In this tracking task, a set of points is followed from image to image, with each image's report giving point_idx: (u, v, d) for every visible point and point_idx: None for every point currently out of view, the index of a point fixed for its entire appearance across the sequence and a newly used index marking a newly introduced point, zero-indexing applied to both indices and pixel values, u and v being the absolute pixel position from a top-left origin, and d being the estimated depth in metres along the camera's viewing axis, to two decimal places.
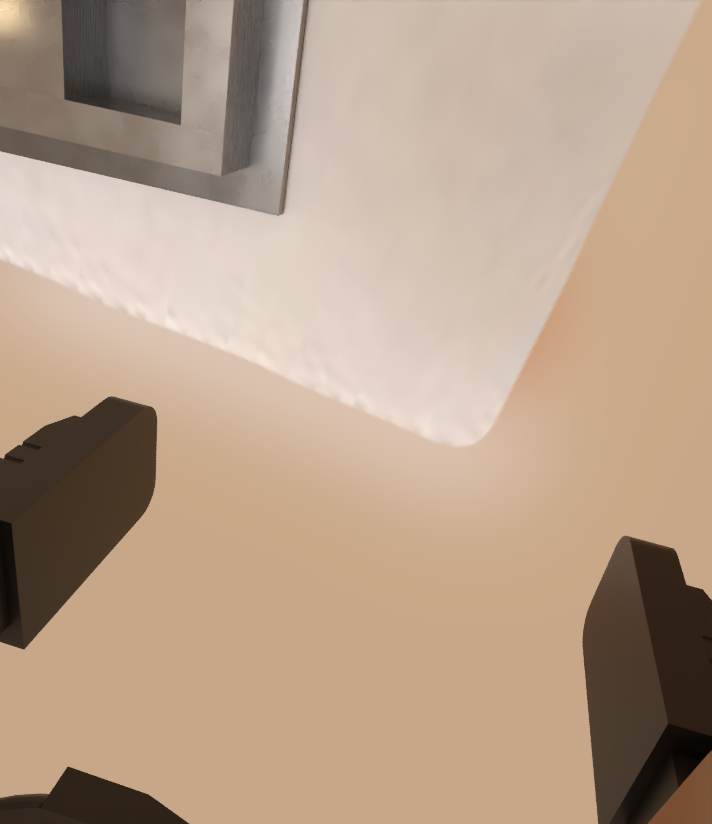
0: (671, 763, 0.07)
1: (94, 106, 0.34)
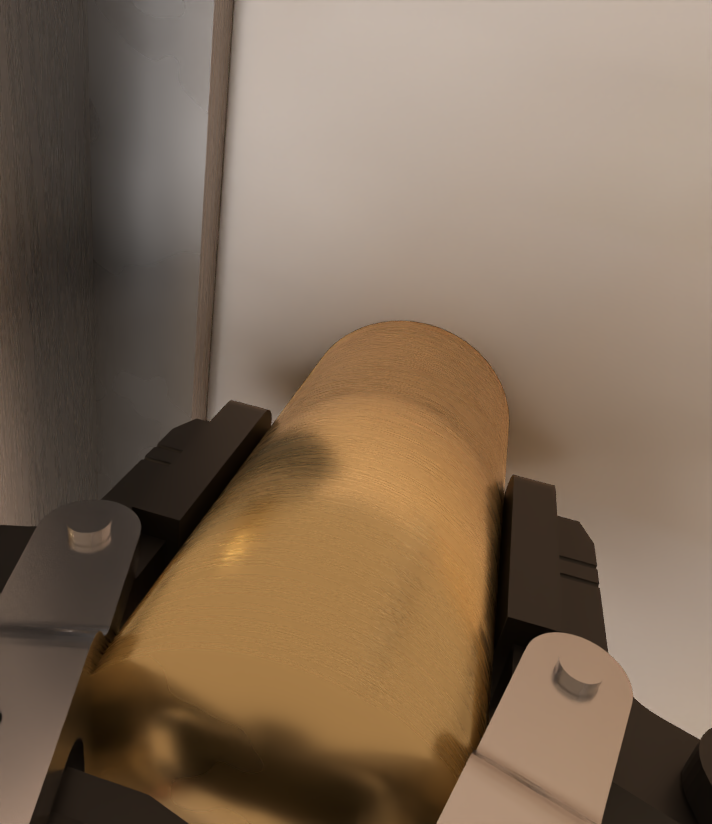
0: (513, 653, 0.08)
1: None
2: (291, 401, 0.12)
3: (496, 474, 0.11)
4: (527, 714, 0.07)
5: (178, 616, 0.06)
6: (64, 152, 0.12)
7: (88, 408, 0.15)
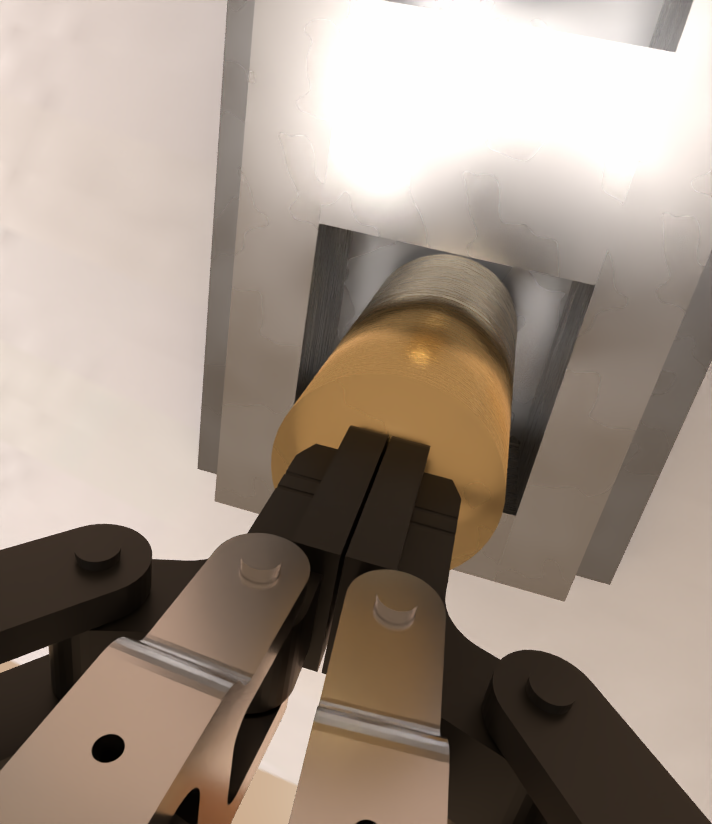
0: None
1: (309, 289, 0.17)
2: (371, 301, 0.18)
3: (510, 343, 0.17)
4: (358, 655, 0.07)
5: (346, 368, 0.12)
6: None
7: None
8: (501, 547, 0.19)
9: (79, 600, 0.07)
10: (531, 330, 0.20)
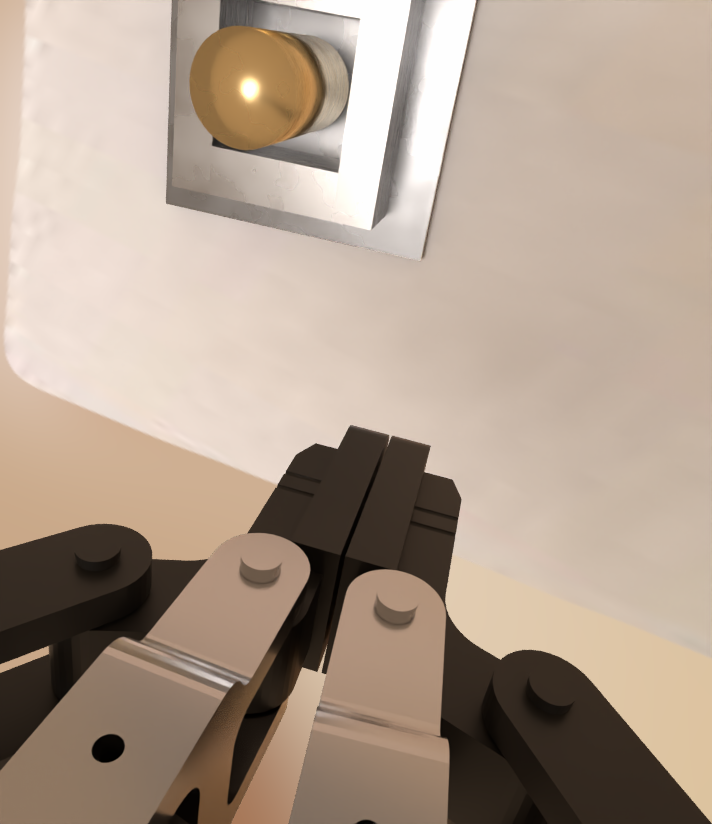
0: None
1: None
2: None
3: (328, 65, 0.31)
4: (358, 655, 0.07)
5: None
6: None
7: (406, 97, 0.33)
8: (333, 196, 0.33)
9: (79, 600, 0.07)
10: None
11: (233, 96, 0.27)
